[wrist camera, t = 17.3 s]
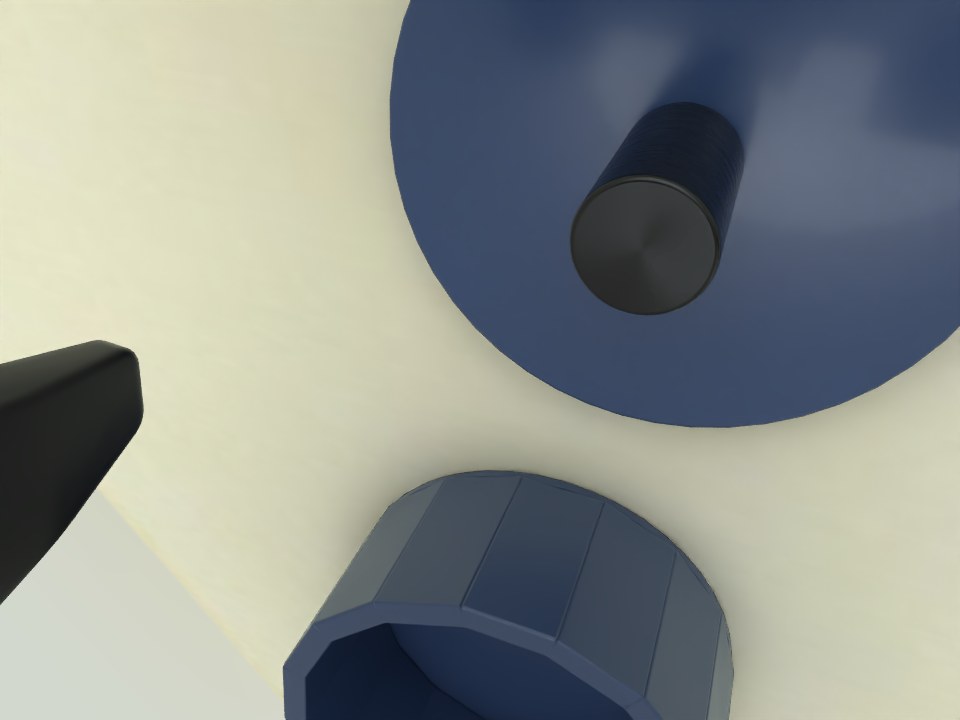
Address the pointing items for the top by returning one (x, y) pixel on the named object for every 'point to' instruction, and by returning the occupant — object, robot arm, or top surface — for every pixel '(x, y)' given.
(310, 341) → the top surface
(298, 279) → the top surface
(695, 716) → the tin
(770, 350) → the tin lid
